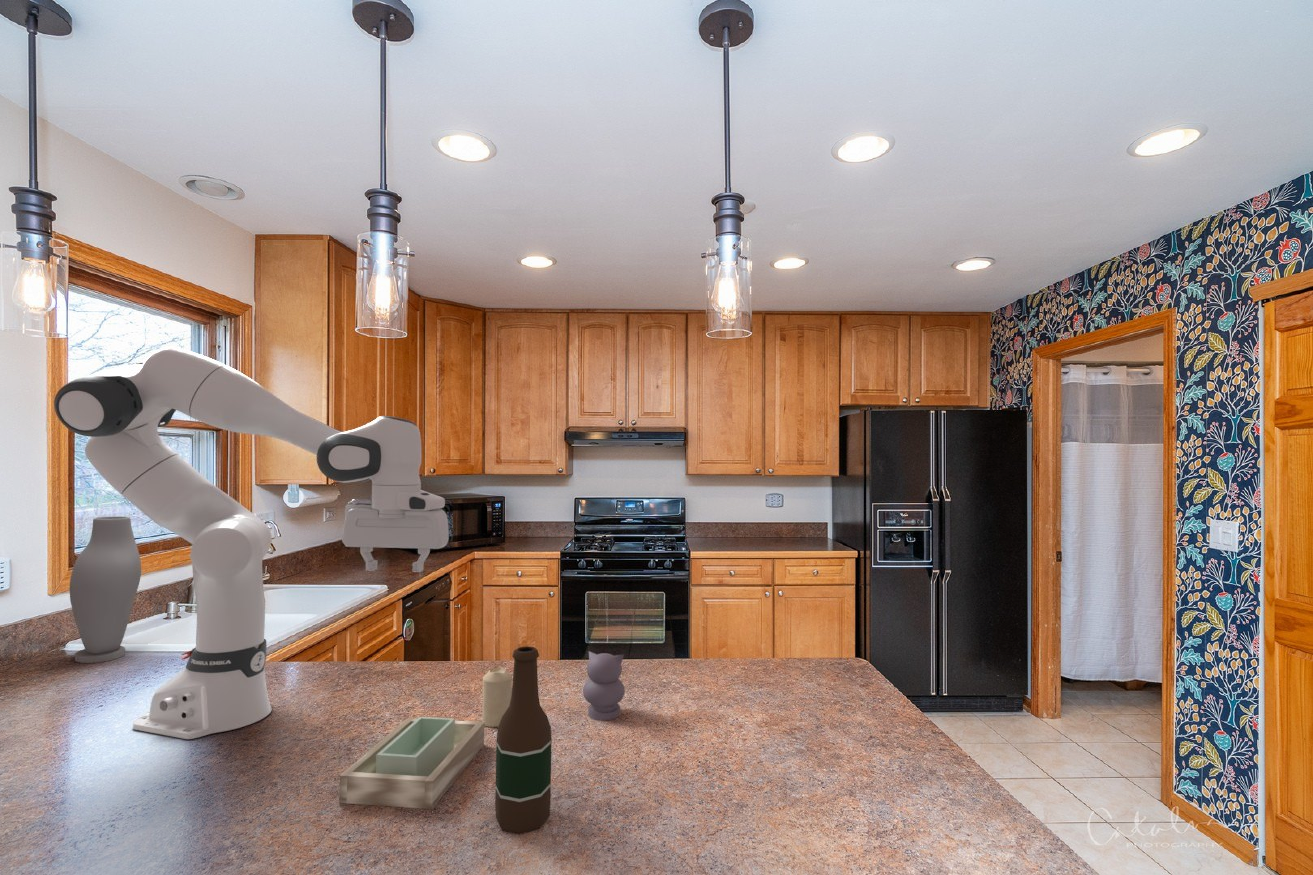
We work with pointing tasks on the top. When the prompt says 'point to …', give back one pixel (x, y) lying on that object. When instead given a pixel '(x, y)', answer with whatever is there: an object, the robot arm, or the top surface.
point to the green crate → (418, 748)
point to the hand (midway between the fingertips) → (394, 570)
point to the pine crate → (404, 789)
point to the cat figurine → (604, 686)
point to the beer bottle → (523, 752)
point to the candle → (496, 696)
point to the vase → (105, 588)
